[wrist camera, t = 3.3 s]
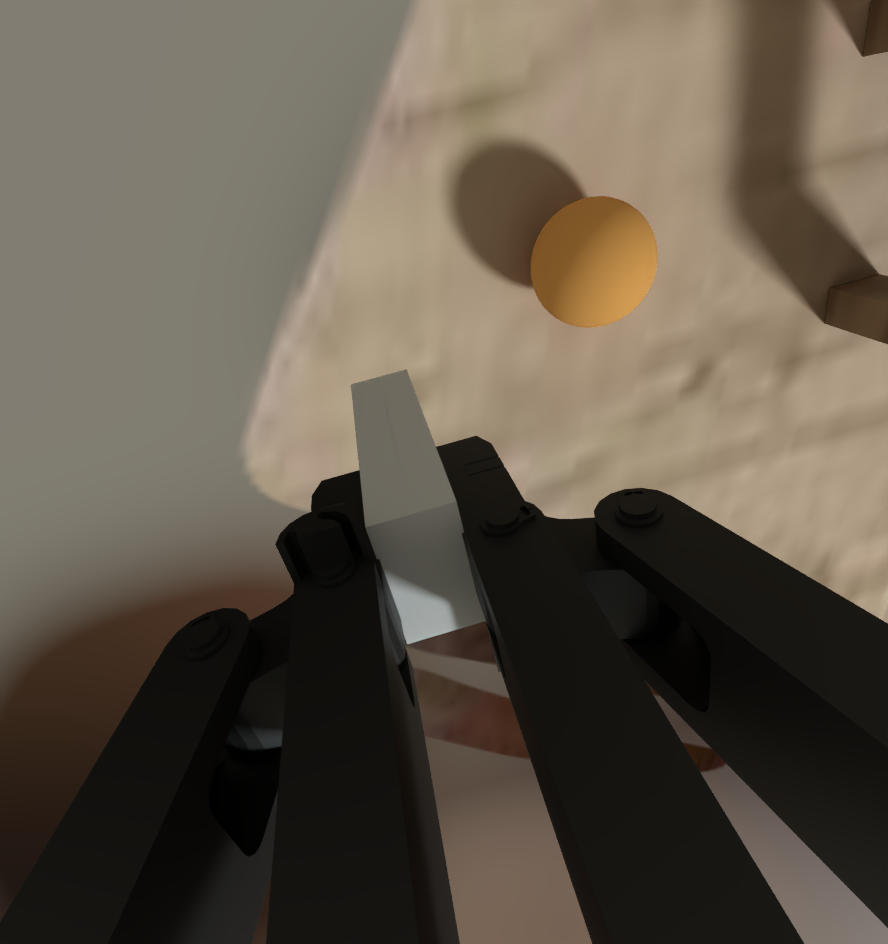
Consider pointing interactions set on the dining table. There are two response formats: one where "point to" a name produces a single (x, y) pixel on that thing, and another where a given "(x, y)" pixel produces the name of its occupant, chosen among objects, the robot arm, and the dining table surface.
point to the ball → (594, 261)
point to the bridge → (879, 297)
